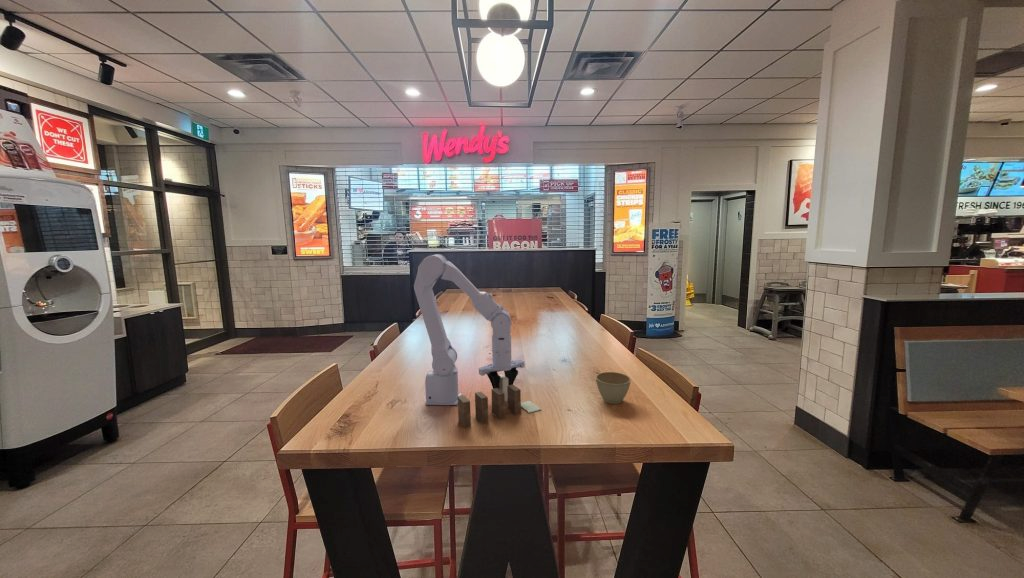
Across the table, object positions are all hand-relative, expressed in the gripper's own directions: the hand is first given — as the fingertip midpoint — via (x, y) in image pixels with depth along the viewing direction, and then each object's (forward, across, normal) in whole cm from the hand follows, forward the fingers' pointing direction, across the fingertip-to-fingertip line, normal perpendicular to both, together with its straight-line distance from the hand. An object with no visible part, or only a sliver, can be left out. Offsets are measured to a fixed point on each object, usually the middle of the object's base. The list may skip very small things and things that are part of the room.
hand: (502, 393), depth 118 cm
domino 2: (+2, -11, -9) cm, 15 cm away
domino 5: (+2, -1, -9) cm, 10 cm away
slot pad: (+2, +4, -9) cm, 10 cm away
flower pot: (+2, +28, -18) cm, 33 cm away
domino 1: (+2, -16, -9) cm, 19 cm away
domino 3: (+2, -6, -9) cm, 11 cm away
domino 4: (+2, 0, 0) cm, 2 cm away
